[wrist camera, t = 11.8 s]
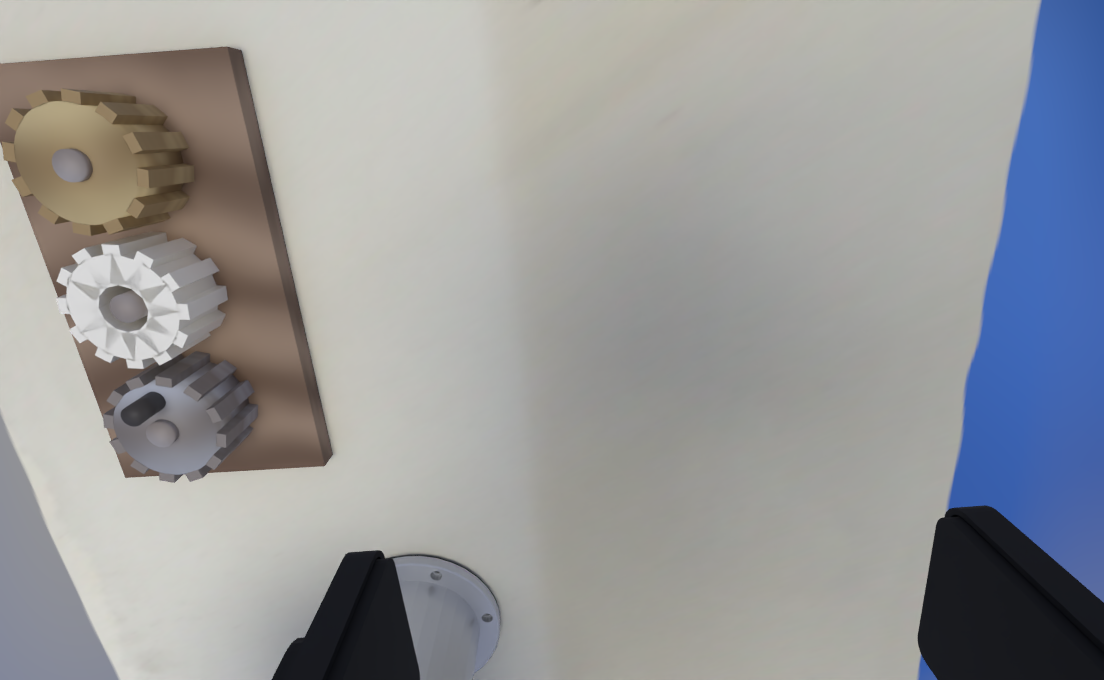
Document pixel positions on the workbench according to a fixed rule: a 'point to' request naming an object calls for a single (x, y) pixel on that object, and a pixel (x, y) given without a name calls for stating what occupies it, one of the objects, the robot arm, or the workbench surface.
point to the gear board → (181, 212)
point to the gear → (160, 279)
